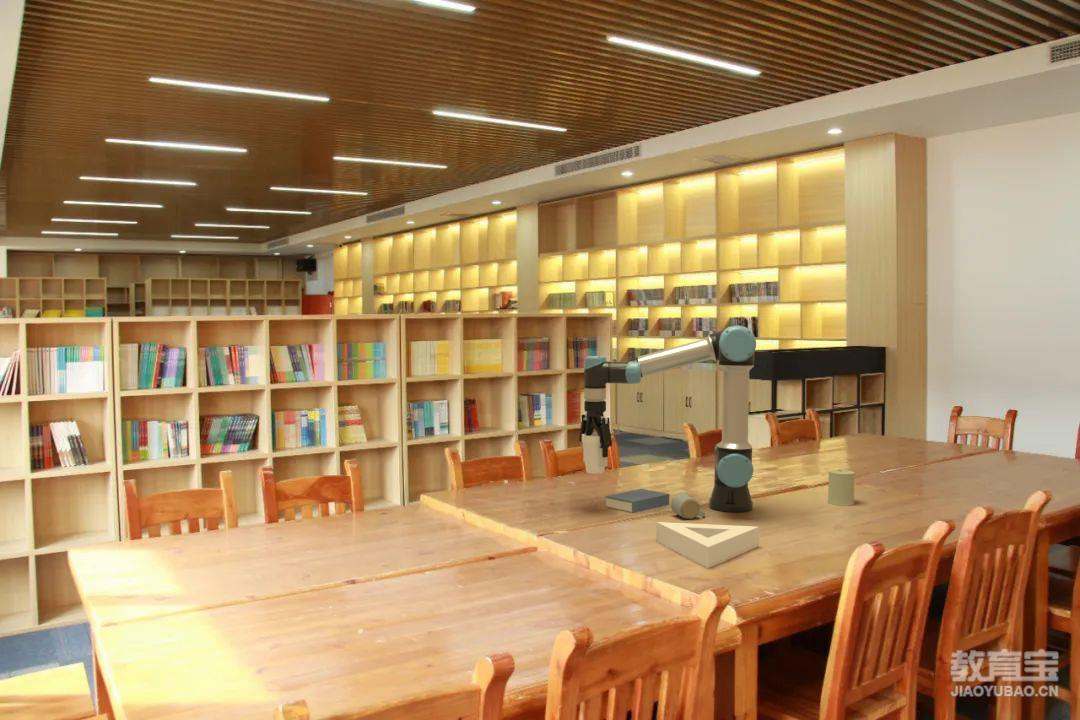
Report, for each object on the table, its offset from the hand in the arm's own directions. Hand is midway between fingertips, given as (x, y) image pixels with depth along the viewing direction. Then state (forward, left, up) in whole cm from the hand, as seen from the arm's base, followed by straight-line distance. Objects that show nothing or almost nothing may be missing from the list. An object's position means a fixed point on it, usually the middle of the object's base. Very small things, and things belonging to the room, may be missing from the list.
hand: (595, 464), depth 292 cm
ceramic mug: (-23, -22, -17) cm, 36 cm away
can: (-34, -86, -16) cm, 94 cm away
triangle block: (-60, -3, -17) cm, 63 cm away
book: (-1, -18, -17) cm, 25 cm away
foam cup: (0, 0, -3) cm, 3 cm away
